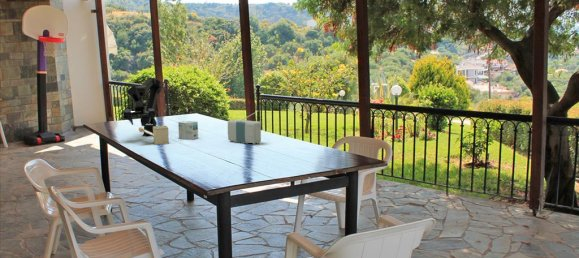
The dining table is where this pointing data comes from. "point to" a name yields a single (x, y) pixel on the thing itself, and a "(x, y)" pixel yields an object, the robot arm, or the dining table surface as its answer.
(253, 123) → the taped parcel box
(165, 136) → the kraft carton
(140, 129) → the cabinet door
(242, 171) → the dining table surface
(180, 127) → the light bulb box
